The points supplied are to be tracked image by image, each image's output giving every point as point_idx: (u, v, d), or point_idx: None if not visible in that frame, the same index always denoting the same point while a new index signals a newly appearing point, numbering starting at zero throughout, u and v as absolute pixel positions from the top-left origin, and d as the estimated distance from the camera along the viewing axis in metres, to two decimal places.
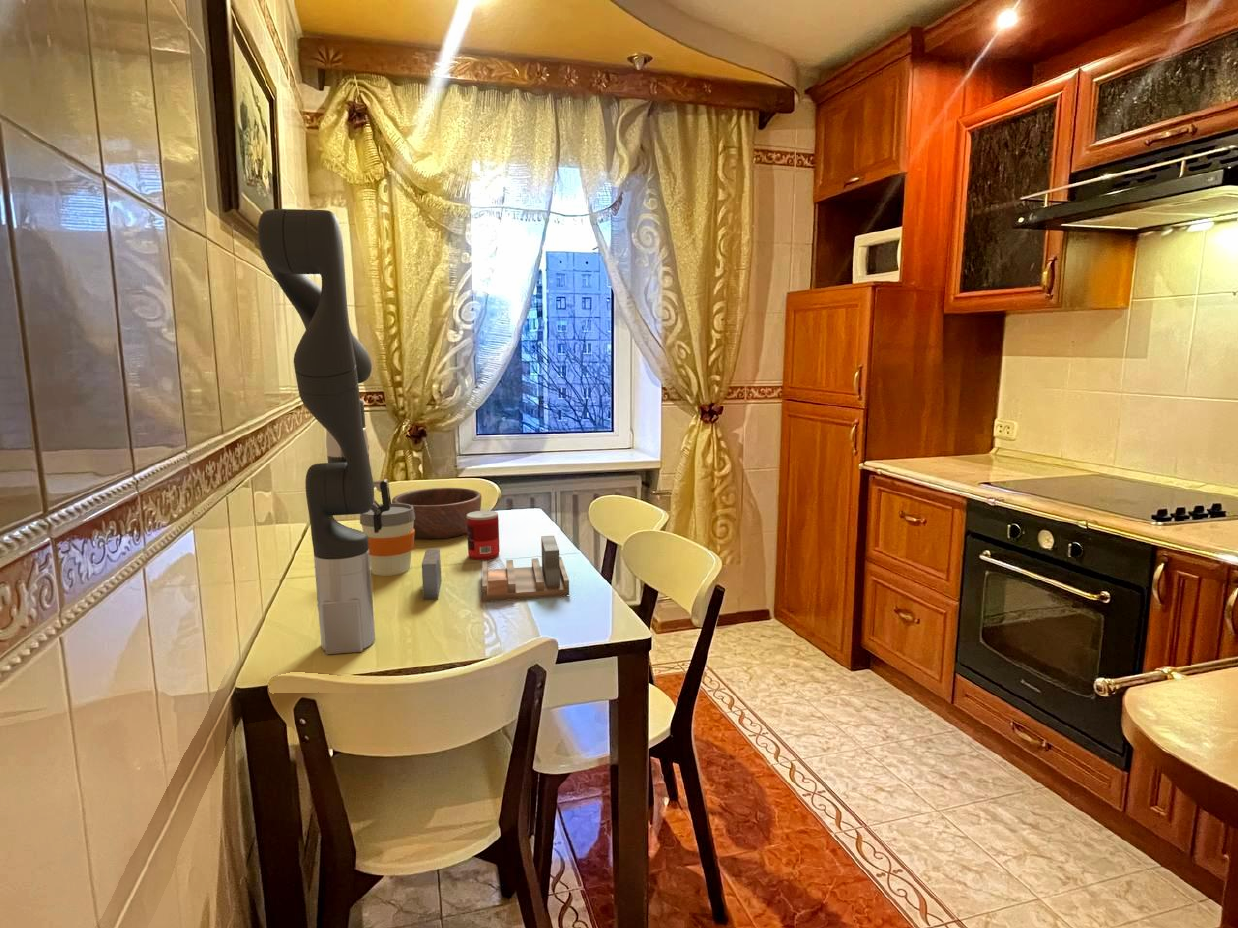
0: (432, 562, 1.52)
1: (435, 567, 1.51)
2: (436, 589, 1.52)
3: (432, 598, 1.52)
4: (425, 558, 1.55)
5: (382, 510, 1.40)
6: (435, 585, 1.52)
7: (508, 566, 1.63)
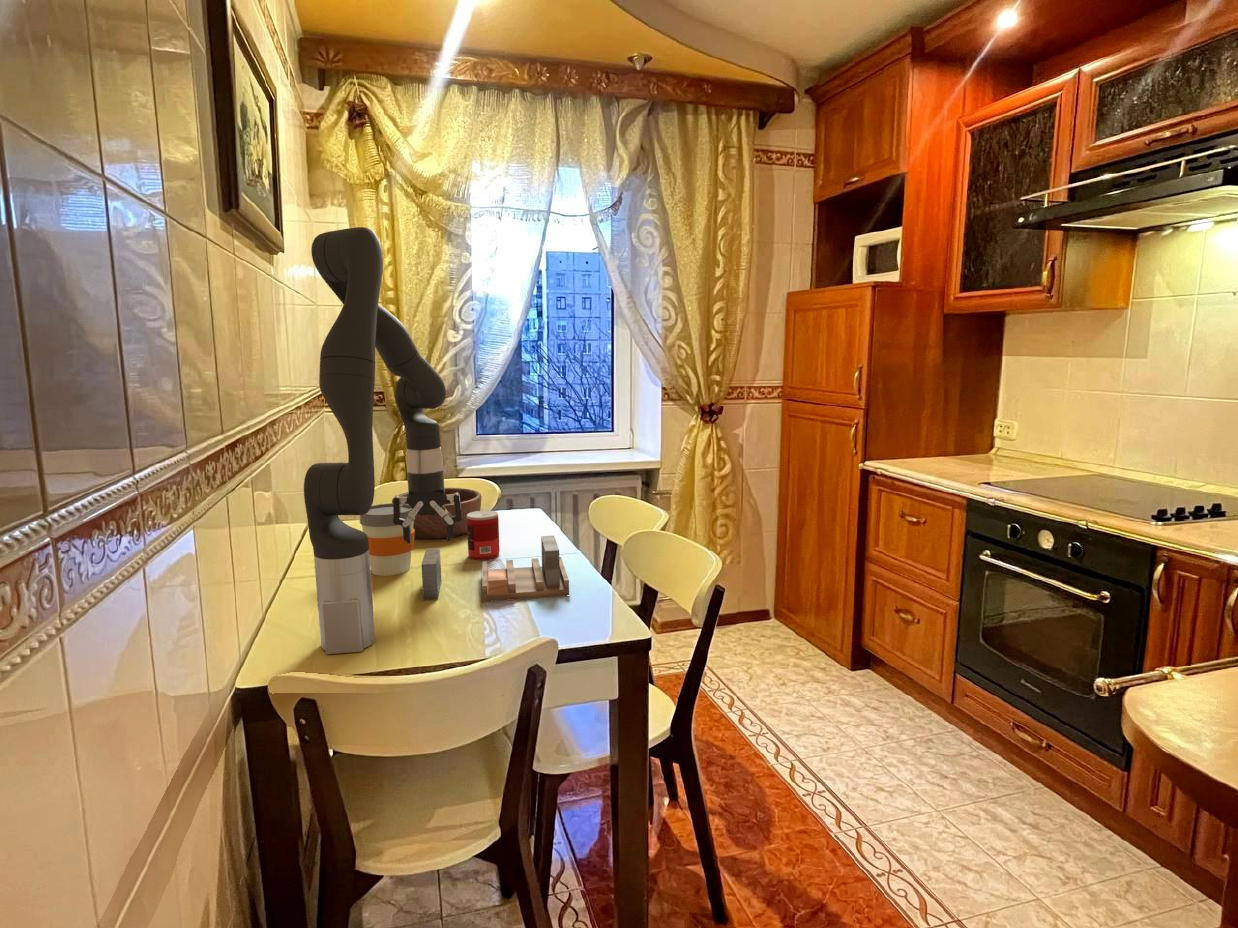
0: (432, 562, 1.52)
1: (435, 567, 1.51)
2: (436, 589, 1.52)
3: (432, 598, 1.52)
4: (425, 558, 1.55)
5: (454, 520, 1.56)
6: (435, 585, 1.52)
7: (508, 566, 1.63)
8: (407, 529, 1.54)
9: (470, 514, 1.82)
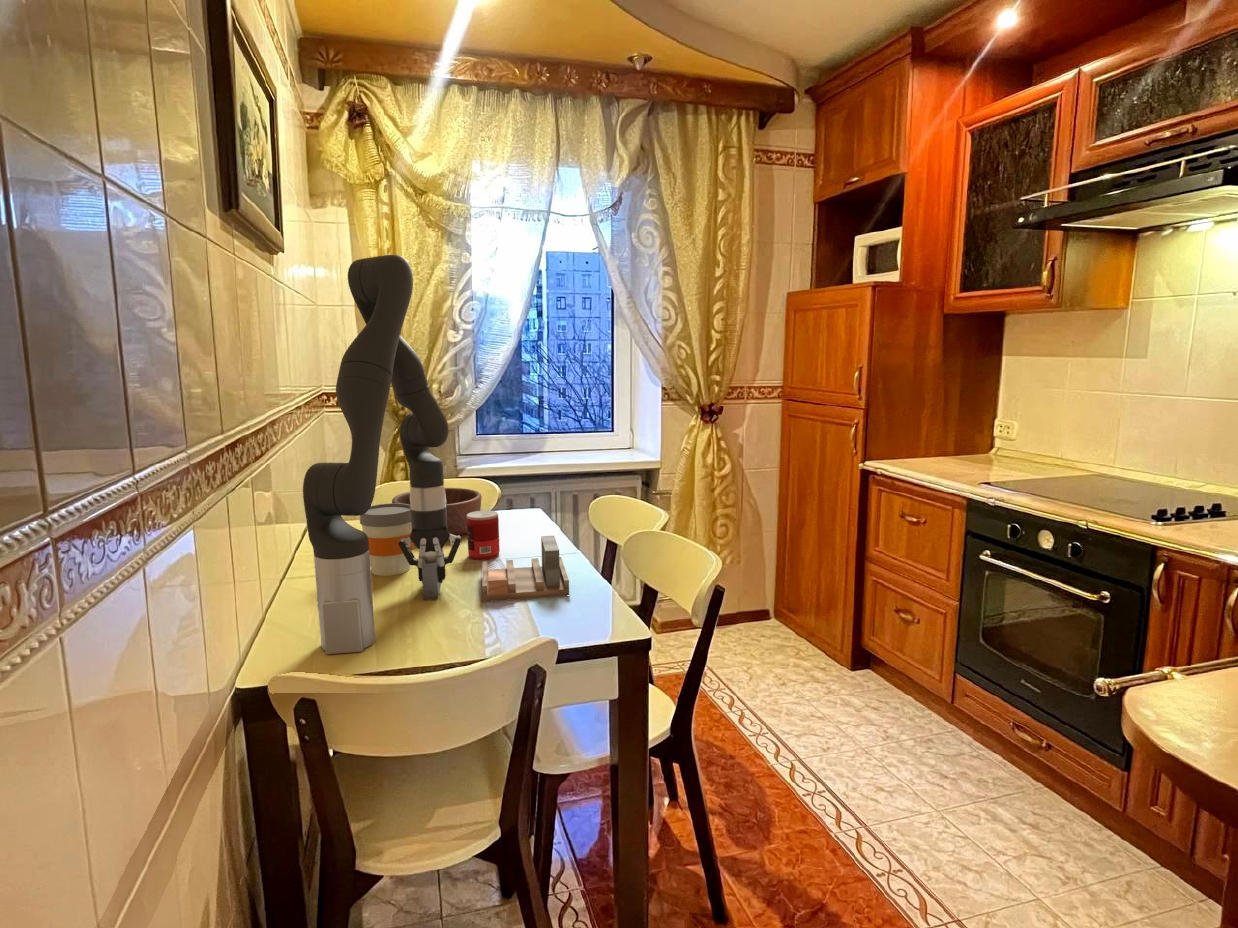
0: (432, 561, 1.52)
1: (435, 566, 1.51)
2: (436, 588, 1.52)
3: (432, 597, 1.52)
4: (425, 557, 1.55)
5: (446, 562, 1.57)
6: (435, 584, 1.52)
7: (508, 566, 1.63)
8: None
9: (470, 514, 1.82)
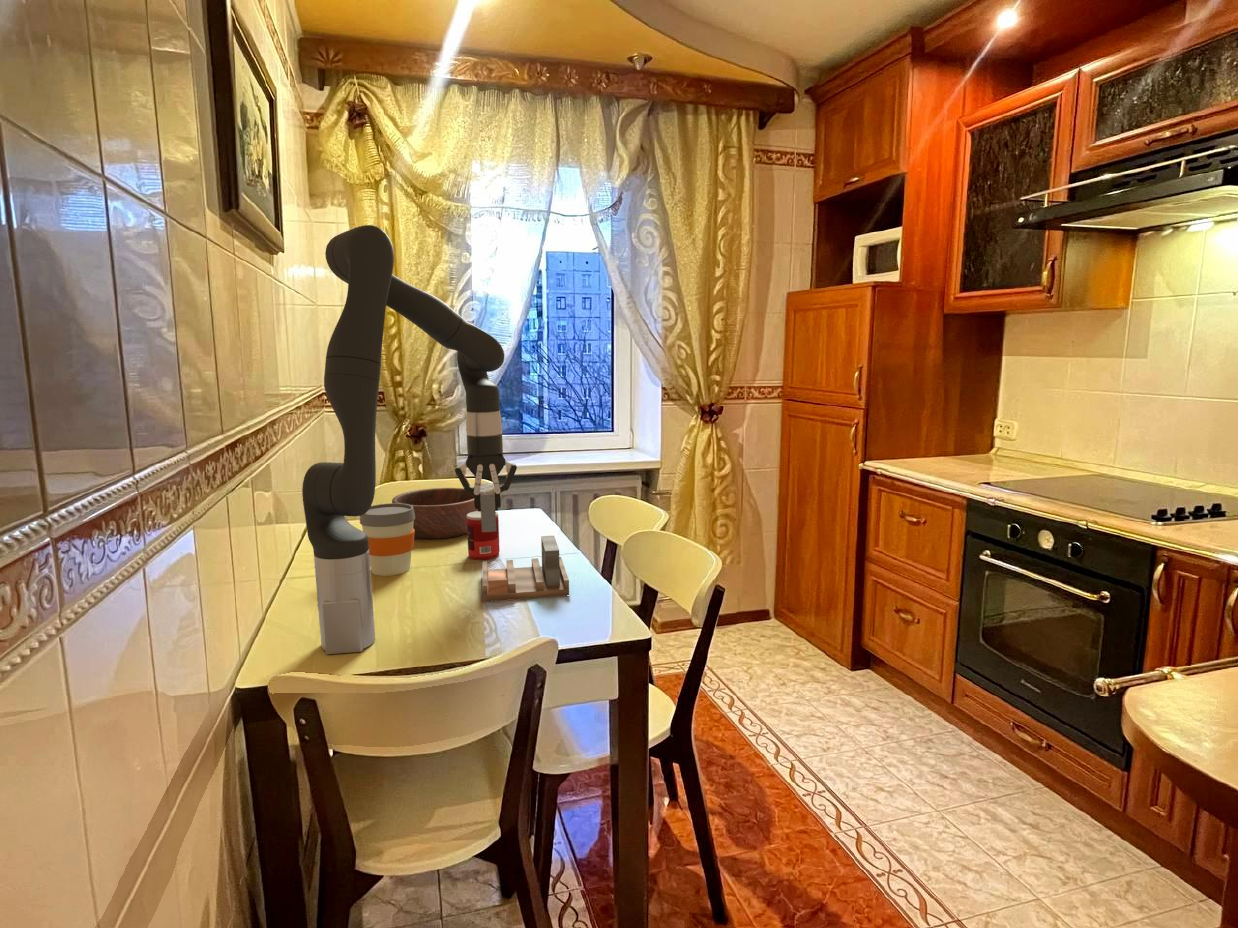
0: (490, 493, 1.52)
1: (493, 498, 1.51)
2: (494, 520, 1.52)
3: (490, 530, 1.52)
4: (482, 491, 1.54)
5: (501, 490, 1.56)
6: (493, 516, 1.52)
7: (508, 566, 1.63)
8: (478, 497, 1.55)
9: (470, 514, 1.82)
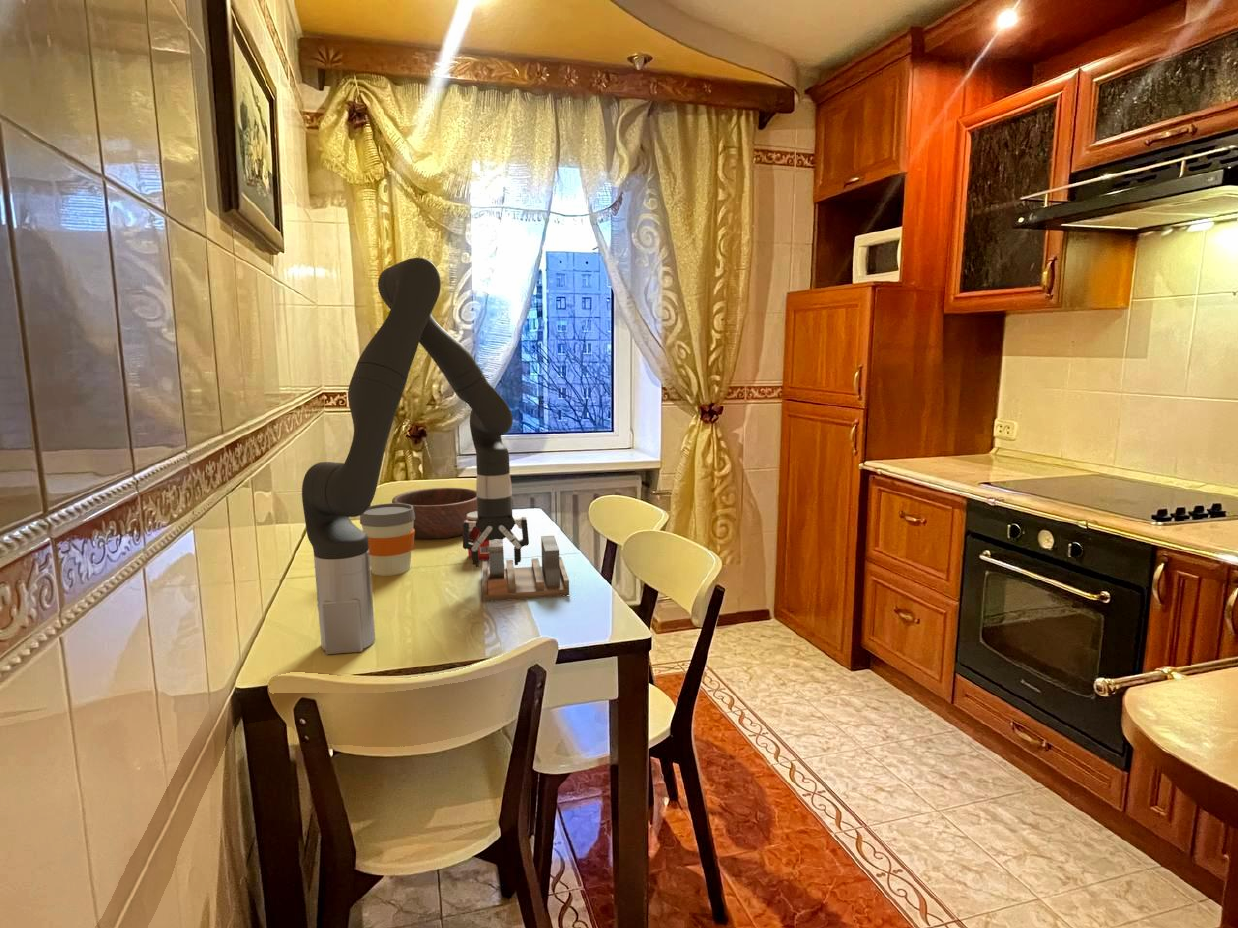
0: (499, 551, 1.53)
1: (502, 556, 1.53)
2: (503, 578, 1.53)
3: None
4: (491, 547, 1.56)
5: (522, 545, 1.58)
6: (502, 574, 1.53)
7: (508, 566, 1.63)
8: (476, 553, 1.56)
9: (470, 514, 1.82)
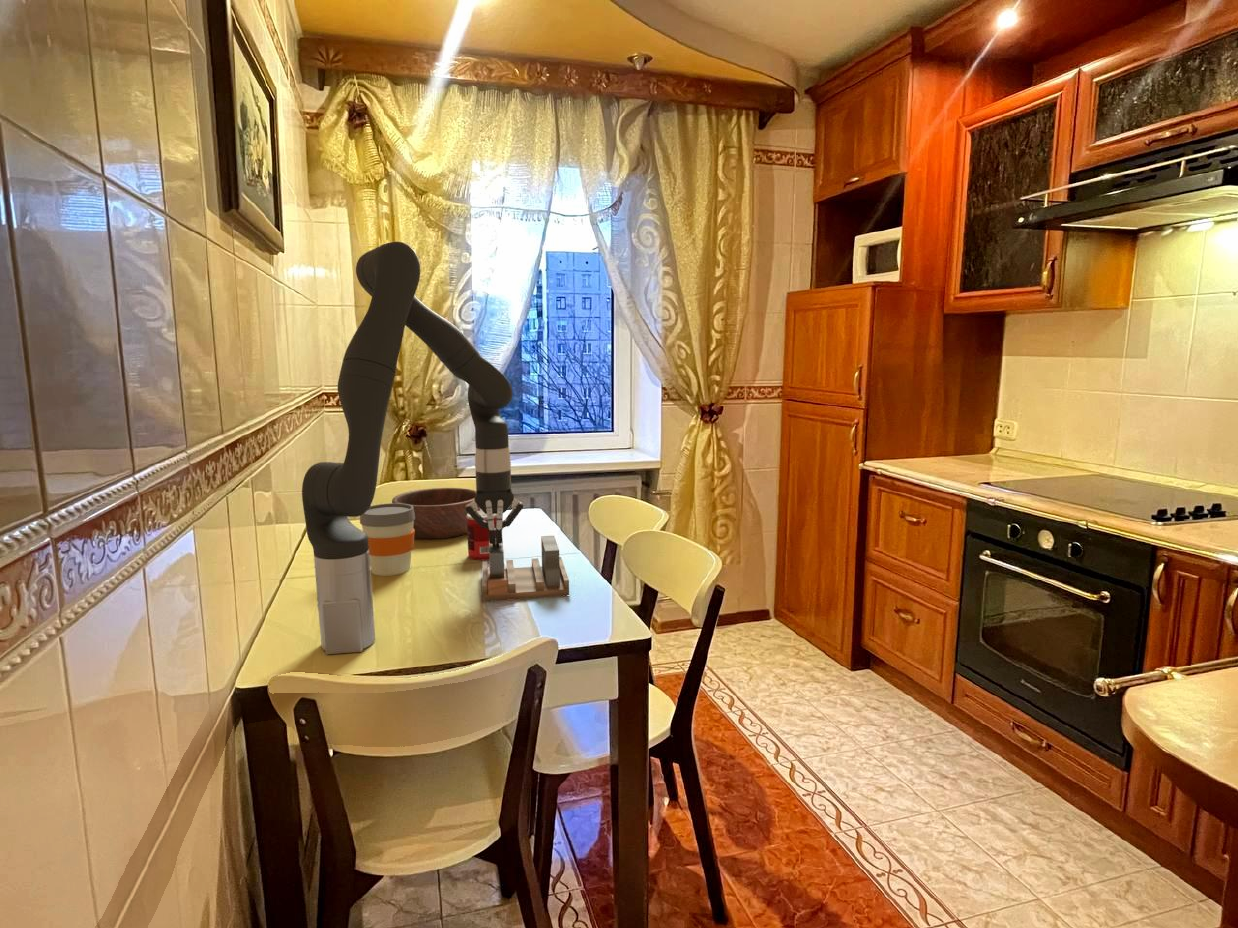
0: (499, 551, 1.53)
1: (502, 556, 1.53)
2: (503, 578, 1.53)
3: None
4: (491, 547, 1.56)
5: (503, 526, 1.57)
6: (502, 574, 1.53)
7: (508, 566, 1.63)
8: (493, 532, 1.56)
9: None
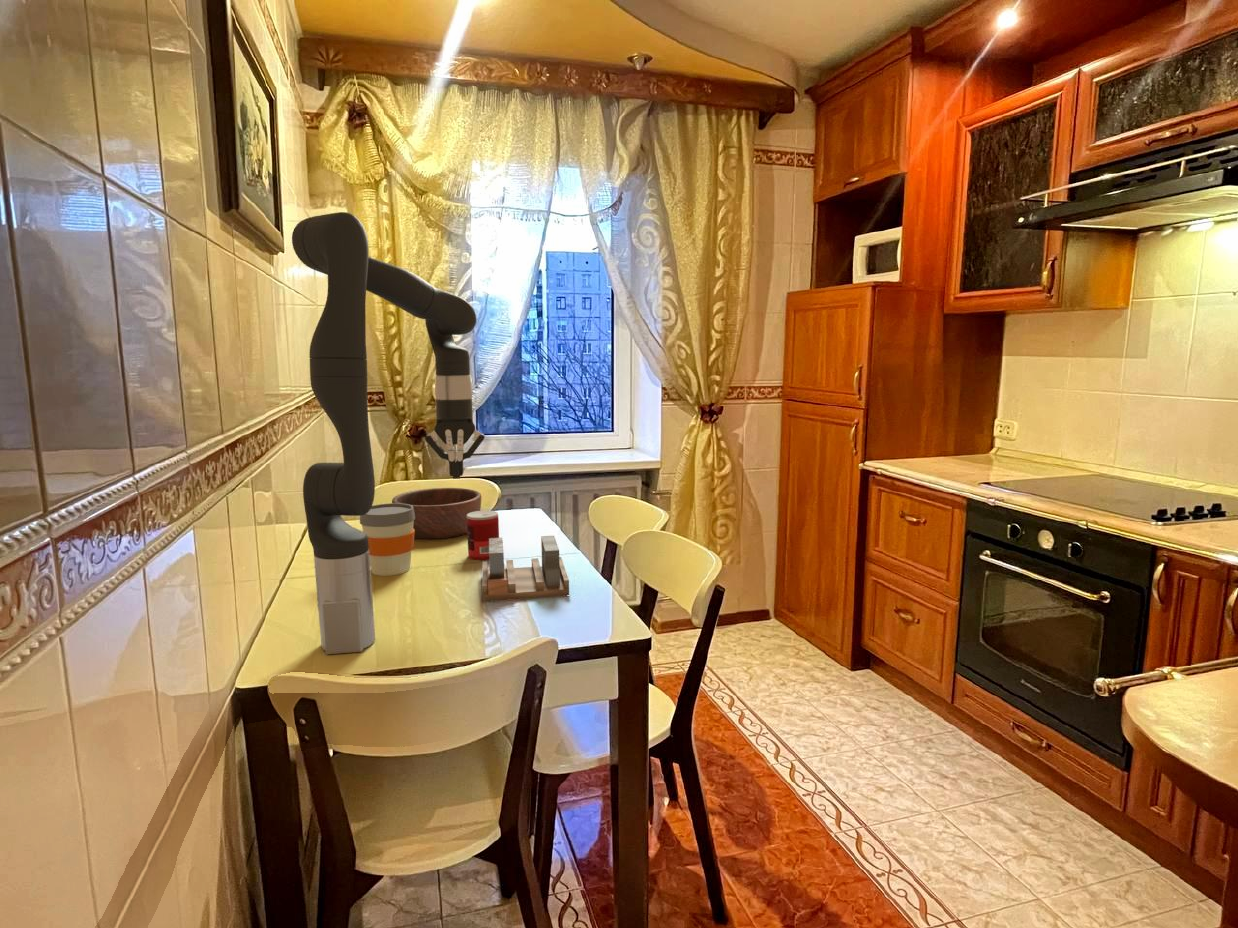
0: (499, 551, 1.53)
1: (502, 556, 1.53)
2: (503, 578, 1.53)
3: None
4: (491, 547, 1.56)
5: (464, 457, 1.53)
6: (502, 574, 1.53)
7: (508, 566, 1.63)
8: (453, 464, 1.53)
9: (470, 514, 1.82)
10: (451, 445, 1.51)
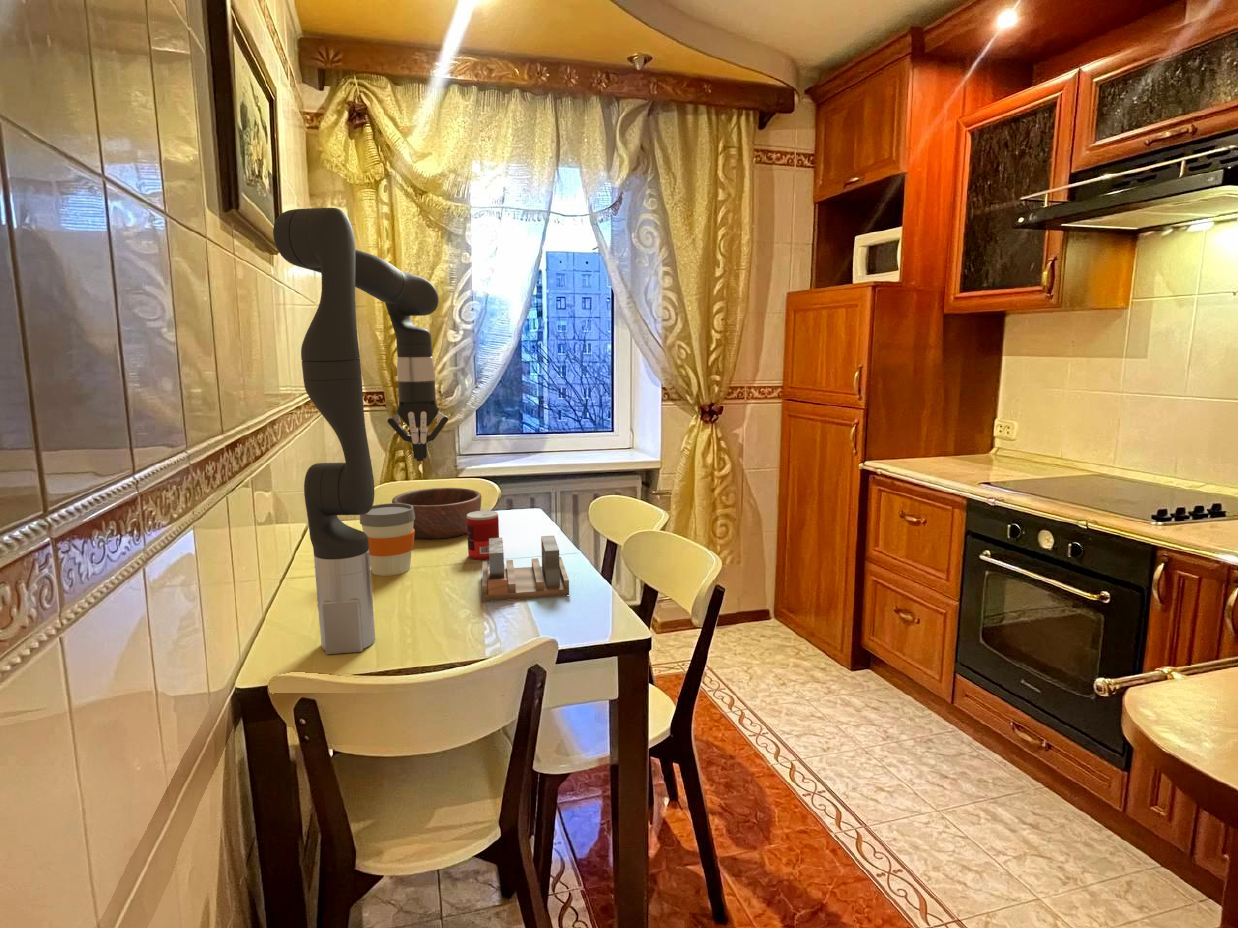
0: (499, 551, 1.53)
1: (502, 556, 1.53)
2: (503, 578, 1.53)
3: None
4: (491, 547, 1.56)
5: (427, 440, 1.52)
6: (502, 574, 1.53)
7: (508, 566, 1.63)
8: (417, 446, 1.51)
9: (470, 514, 1.82)
10: (414, 427, 1.50)
